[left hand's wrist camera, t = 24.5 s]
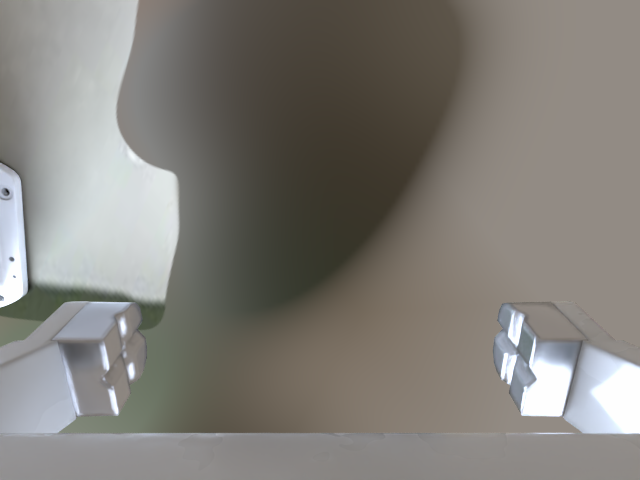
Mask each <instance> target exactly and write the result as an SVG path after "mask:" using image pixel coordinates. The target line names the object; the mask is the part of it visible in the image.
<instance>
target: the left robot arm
mask: <svg viewBox="0 0 640 480" xmlns="http://www.w3.org/2000/svg"><path fill="white" fill-rule="evenodd" d="M6 189H8V190H9V192H10V194H8V193H7V192H6ZM27 292H28V278H27V263H26V248H25V233H24V218H23V203H22V188H21V180H20V177H19V175H18V174H17V173H16V172H15V171H14V170H12V169H11V168H9V167H7V166H6V165H4V164H2V163H0V307H2V306H5V305H8V304H11V303H13V302H15V301H16V300H18V299H20V298H21V297H23V296H24V295H25V294H26V293H27ZM1 295H2V296H4V298H3V297H2V296H1ZM141 322H142V315H141V310H140V307H139V306H138V305H137V303H125V302H90V301H85V302H66V303H64V304H63V305H62V306H61V307H59V308H58V309H57V310H56V311H55V312H54V313H53V314H52V315H51V316H50V317H49V318H48V319H47V320H46V321H44V322H43V323H42V324H41V325H40V326H39V327H38V328H37V329H36V330H35V331H34V332H33V333H32V334H30V335H29V336H28V337H27V338H26V339H25V340H24V341H14V342H12V343H10V344H7V345H5V346H2V347H0V480H640V347H638V346H635V345H633V344H631V343H628V342H626V341H616V340H615V339H614V338H613V337H612V336H611V335H610V334H609V333H607V332H606V331H605V330H604V329H603V328H602V327H601V326H600V325H599V324H598V323H597V322H596V321H595V320H594V319H592V318H591V317H590V316H589V315H588V314H587V313H586V312H585V311H584V310H583V309H582V308H581V307H580V306H578V305H577V304H576V303H574V302H571V301H566V302H524V303H504V304H502V306H501V308H500V310H499V315H498V322H499V323H500V325H501V327H502V328H503V329H502V330H501V331H500V332H499V334H498V335H497V336H496V337H495V339H494V346H493V356H494V364H495V367H496V370H497V373H498V374H499V376H500V378H501V379H502V380H503V381H505V382H506V383H508V384H510V390H509V394H510V396H511V397H512V399H513V401H514V403H515V404H516V406H517V408H518V409H519V411H520V413H521V415H525V416H562V417H564V419H565V420H566V421H568V422H569V423H570V424H572V425H573V426H575V427H576V428H577V429H578V430H580V431H581V432H582V433H58V432H59V431H60V430H62V429H63V428H64V427H66V426H67V425H68V424H70V423H71V422H72V421H74V420H75V419H76V417H78V416H113V415H119V413H120V411H121V410H122V408H123V406H124V404H125V403H126V401H127V399H128V397H129V396H130V394H131V391H130V384H132V383H134V382H135V381H137V380H138V379H139V378H140V376H141V374H142V373H143V371H144V367H145V363H146V359H147V345H146V338H145V337H144V336H143V335H142V334H141V333H140V331H139V330H138V329H137V328H138V327H139V325H140V323H141Z"/></svg>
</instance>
